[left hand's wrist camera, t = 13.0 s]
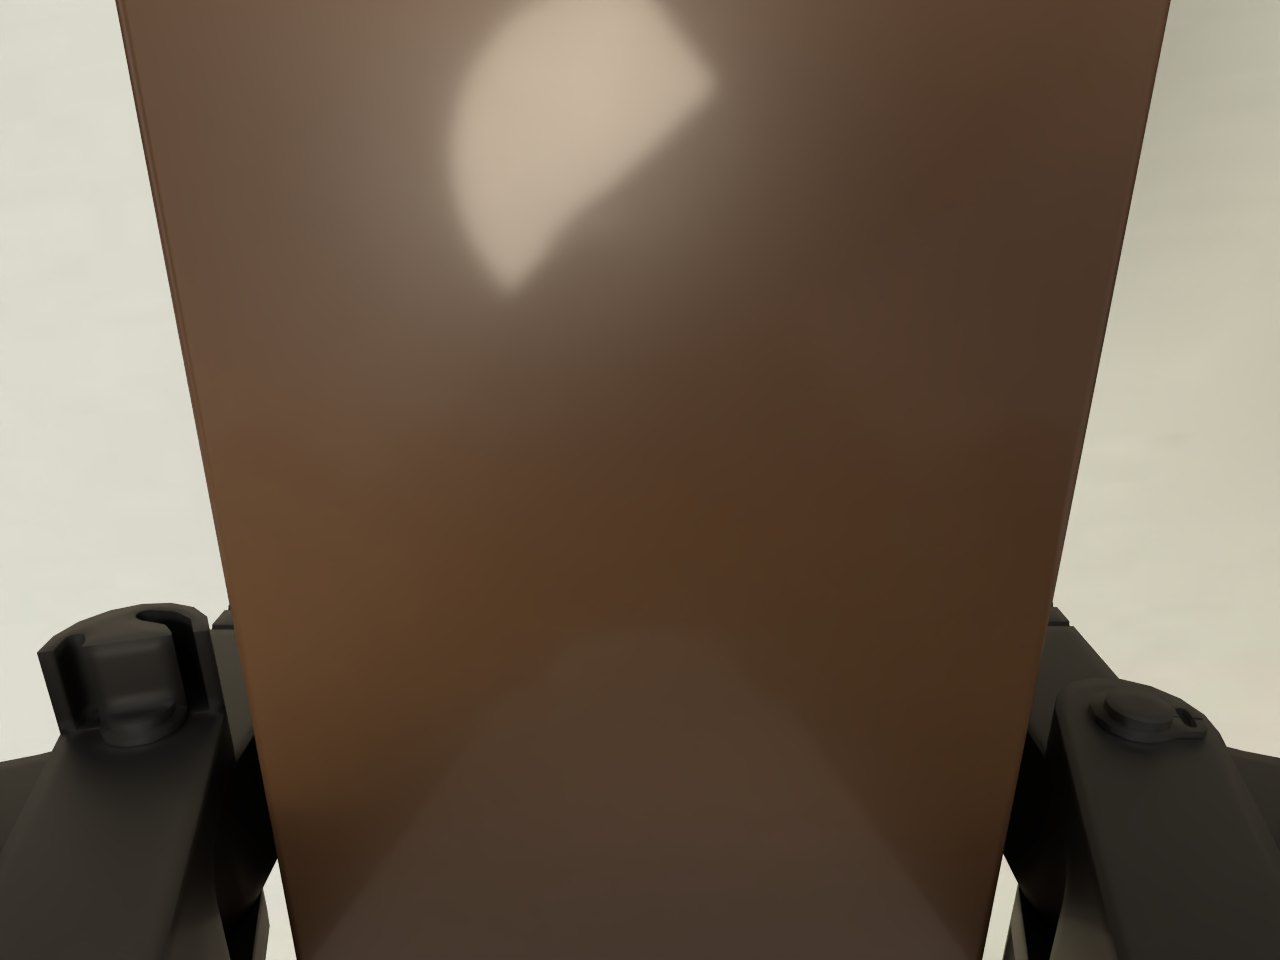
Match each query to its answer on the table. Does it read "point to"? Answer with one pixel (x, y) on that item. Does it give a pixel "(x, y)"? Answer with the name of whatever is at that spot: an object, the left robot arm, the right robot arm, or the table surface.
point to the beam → (641, 445)
